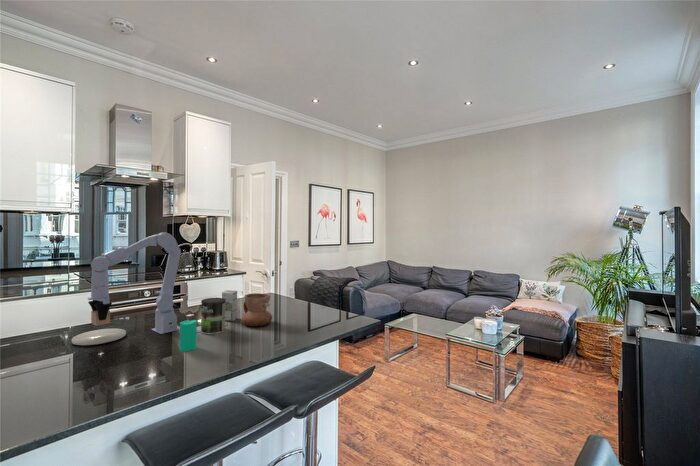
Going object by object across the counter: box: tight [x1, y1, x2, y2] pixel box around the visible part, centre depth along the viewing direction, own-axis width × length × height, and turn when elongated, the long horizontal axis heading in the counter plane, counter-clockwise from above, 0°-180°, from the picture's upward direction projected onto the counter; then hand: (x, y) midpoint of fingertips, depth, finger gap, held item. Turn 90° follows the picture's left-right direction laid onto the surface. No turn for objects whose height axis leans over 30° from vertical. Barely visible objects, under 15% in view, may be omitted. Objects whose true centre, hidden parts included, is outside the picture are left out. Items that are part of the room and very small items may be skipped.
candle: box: [179, 317, 198, 352], centre depth 129 cm, size 6×6×12 cm
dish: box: [71, 328, 127, 346], centre depth 138 cm, size 18×18×2 cm
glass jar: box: [200, 297, 226, 335], centre depth 150 cm, size 10×10×14 cm
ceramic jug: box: [241, 292, 273, 327], centre depth 162 cm, size 18×14×14 cm
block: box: [90, 309, 111, 327], centre depth 138 cm, size 5×5×5 cm
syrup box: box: [221, 289, 238, 322], centre depth 168 cm, size 6×6×14 cm
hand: (100, 318), depth 137 cm, fingers closed on block, 5 cm apart
